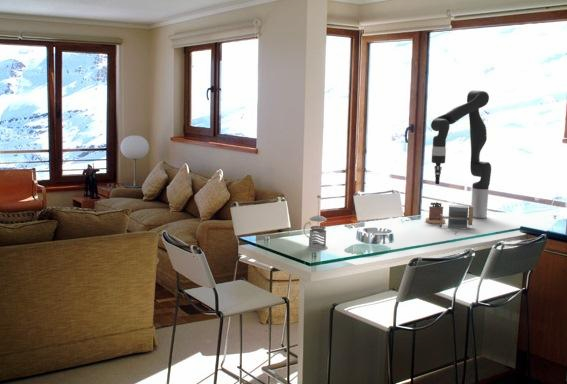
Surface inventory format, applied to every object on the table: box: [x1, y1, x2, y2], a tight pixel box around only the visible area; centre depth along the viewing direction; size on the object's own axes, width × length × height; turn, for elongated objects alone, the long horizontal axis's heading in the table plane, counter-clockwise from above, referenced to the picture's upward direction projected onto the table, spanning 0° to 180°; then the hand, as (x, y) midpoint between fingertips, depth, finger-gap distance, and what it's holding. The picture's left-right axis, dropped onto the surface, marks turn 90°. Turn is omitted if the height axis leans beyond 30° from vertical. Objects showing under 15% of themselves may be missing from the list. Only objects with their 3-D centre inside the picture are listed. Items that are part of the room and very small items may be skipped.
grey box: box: [447, 204, 469, 230], centre depth 366 cm, size 7×10×12 cm, turn 77°
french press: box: [303, 194, 329, 251], centre depth 310 cm, size 10×12×25 cm
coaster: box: [424, 217, 446, 225], centre depth 380 cm, size 11×11×2 cm
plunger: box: [439, 204, 474, 227], centre depth 366 cm, size 6×17×12 cm, turn 77°
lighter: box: [428, 201, 444, 220], centre depth 378 cm, size 8×3×10 cm, turn 93°
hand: (437, 183), depth 377 cm, fingers open, 8 cm apart
